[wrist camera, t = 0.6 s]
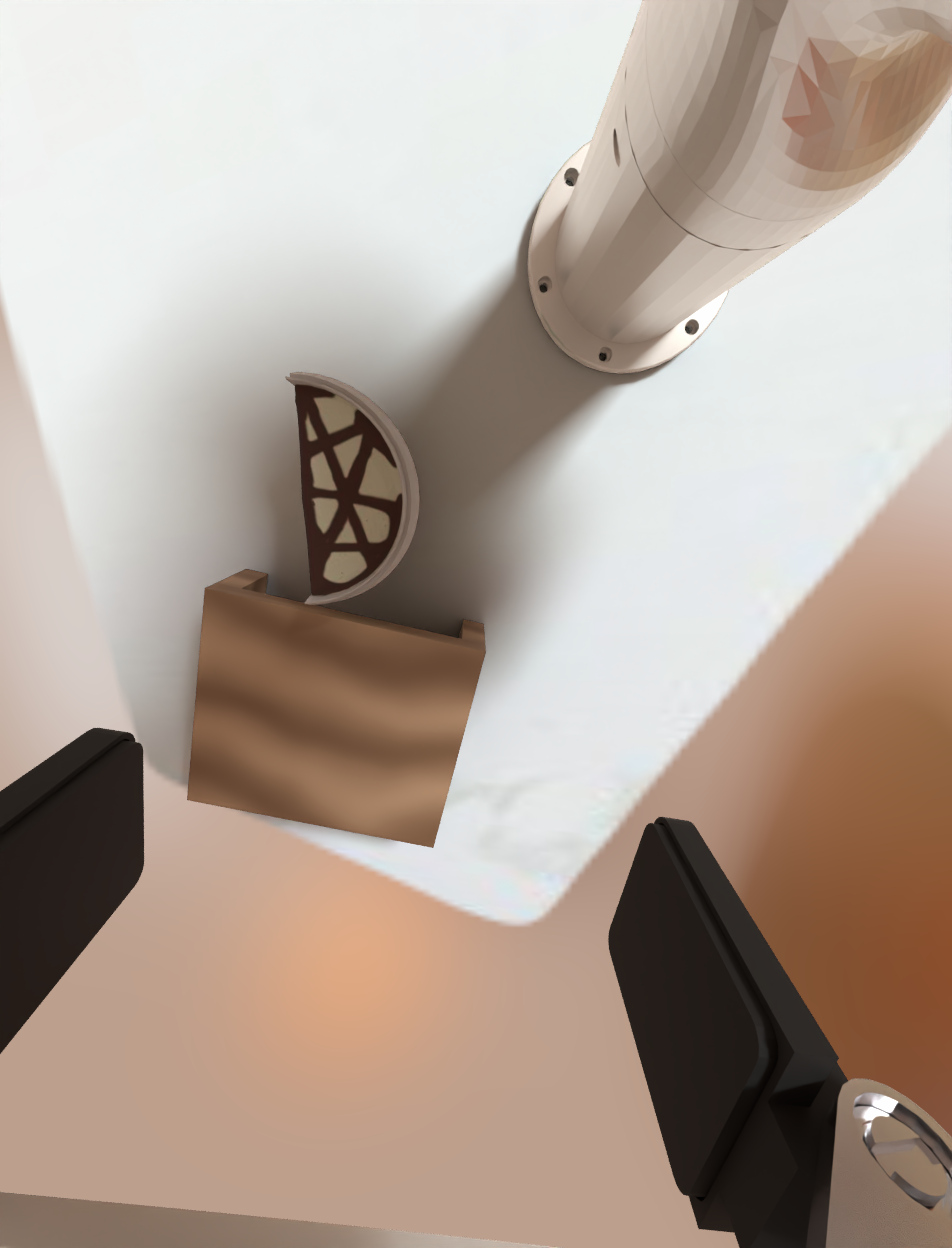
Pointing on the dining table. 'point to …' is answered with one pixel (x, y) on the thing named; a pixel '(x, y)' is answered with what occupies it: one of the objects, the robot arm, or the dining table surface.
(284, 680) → the walnut shelf
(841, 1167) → the robot arm
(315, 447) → the food container
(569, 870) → the dining table surface
